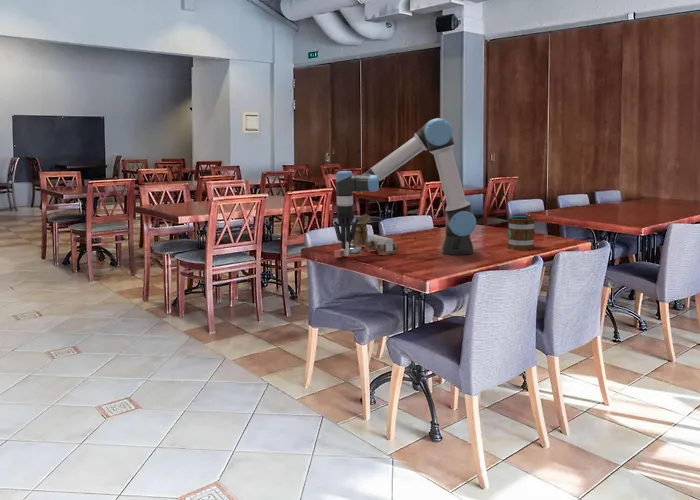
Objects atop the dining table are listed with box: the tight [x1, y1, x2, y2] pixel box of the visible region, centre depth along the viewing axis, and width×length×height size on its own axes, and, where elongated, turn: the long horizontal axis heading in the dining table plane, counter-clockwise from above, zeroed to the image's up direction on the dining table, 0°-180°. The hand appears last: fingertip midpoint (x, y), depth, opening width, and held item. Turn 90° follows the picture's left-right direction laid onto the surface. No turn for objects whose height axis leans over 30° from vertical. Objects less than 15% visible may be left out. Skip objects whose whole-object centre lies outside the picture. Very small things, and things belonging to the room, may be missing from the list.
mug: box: [507, 215, 536, 251], centre depth 323 cm, size 20×14×15 cm
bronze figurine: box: [352, 213, 371, 245], centre depth 331 cm, size 9×14×18 cm, turn 17°
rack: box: [364, 241, 399, 255], centre depth 316 cm, size 16×9×5 cm, turn 28°
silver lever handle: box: [333, 242, 362, 259], centre depth 307 cm, size 17×9×5 cm, turn 146°
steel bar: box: [368, 234, 394, 251], centre depth 316 cm, size 17×4×6 cm, turn 29°
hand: (346, 255), depth 302 cm, fingers closed
